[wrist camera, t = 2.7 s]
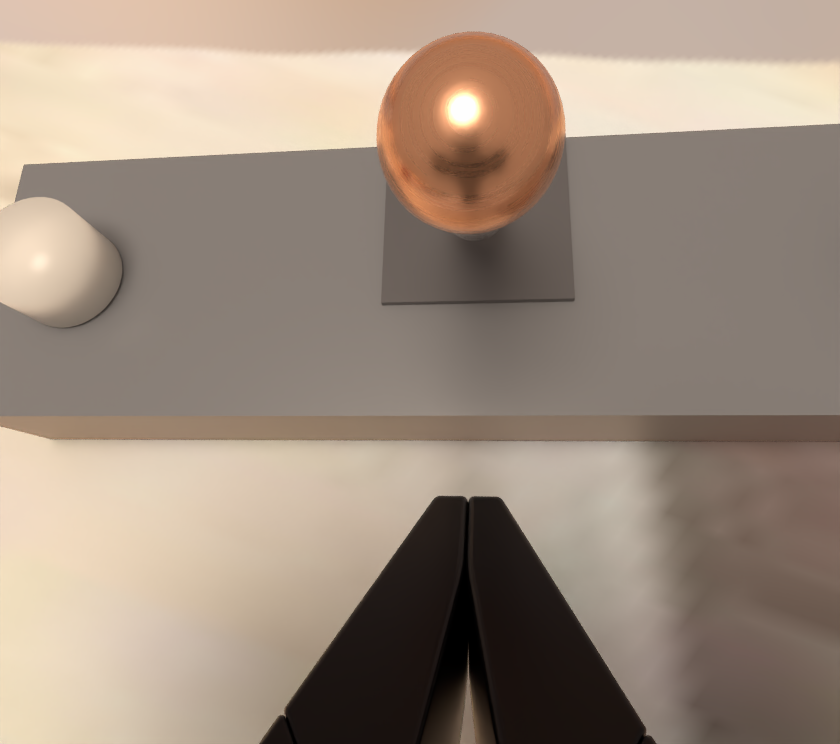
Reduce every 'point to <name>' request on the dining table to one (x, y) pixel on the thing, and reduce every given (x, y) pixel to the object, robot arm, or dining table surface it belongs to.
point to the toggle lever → (470, 133)
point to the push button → (55, 263)
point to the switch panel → (451, 300)
